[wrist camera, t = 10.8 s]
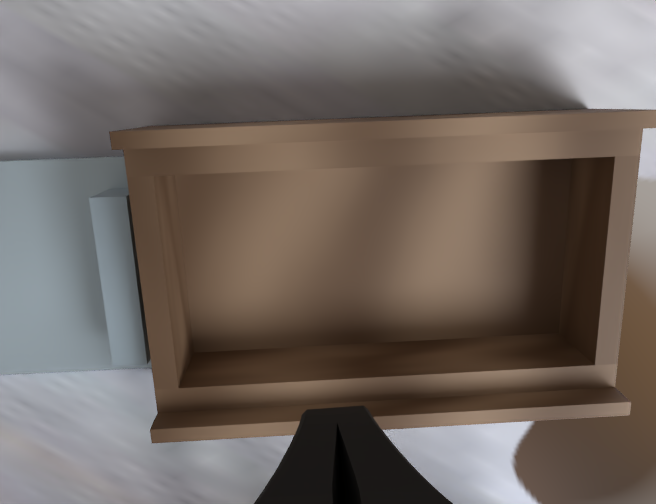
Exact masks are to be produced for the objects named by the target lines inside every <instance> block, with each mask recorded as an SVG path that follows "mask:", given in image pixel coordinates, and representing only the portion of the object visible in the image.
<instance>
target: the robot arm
mask: <svg viewBox="0 0 656 504" xmlns="http://www.w3.org/2000/svg"><path fill="white" fill-rule="evenodd" d="M254 504H453V503H451V502H450V501H449V500H448V499H446V498H445V497H444V496H443V495H442V494H441V493H440V492H438V491H437V490H436V489H435V488H434V487H433V486H432V485H431V484H430V483H429V482H428V481H427V480H426V479H425V478H424V477H423V476H422V475H421V474H420V473H419V472H418V471H417V470H416V469H415V468H414V467H413V466H412V465H411V464H410V463H409V462H408V461H407V460H406V458H405V457H404V456H403V455H402V454H401V453H400V452H399V450H398V449H397V448H396V447H395V446H394V445H393V443H392V442H391V441H390V440H389V438H388V437H387V436H386V435H385V433H384V432H383V431H382V429H381V428H380V427H379V425H378V424H377V422H376V421H375V419H374V418H373V416H372V415H371V413H370V411H369V410H368V409H367V408H366V407H365V406H364V405H363V406H349V407H335V408H321V409H307V410H306V411H305V412H304V413H303V414H302V416H301V420H300V423H299V426H298V428H297V431H296V433H295V435H294V437H293V440H292V442H291V444H290V446H289V448H288V450H287V452H286V453H285V455H284V457H283V459H282V461H281V463H280V465H279V466H278V468H277V470H276V471H275V473H274V475H273V476H272V478H271V479H270V481H269V482H268V484H267V485H266V487H265V489H264V490H263V492H262V493H261V495H260V496H259V497H258V499H257V500H256V502H255V503H254Z"/></svg>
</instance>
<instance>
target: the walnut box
mask: <svg viewBox="0 0 656 504" xmlns="http://www.w3.org/2000/svg"><path fill="white" fill-rule="evenodd" d="M643 128H656V110H634V109H573V110H548V111H522V112H497V113H471V114H445V115H420V116H394V117H369V118H343V119H318V120H292V121H266V122H241V123H215V124H190V125H164V126H147V127H140V128H133V129H126V130H119V131H112V132H109V133H110V140H111V147H112V150H121V149H123V152H124V160H125V167H126V175H127V182H128V190H129V198H130V205H131V213H132V221H133V228H134V236H135V243H136V251H137V259H138V266H139V274H140V282H141V289H142V297H143V304H144V312H145V320H146V327H147V335H148V342H149V350H150V358H151V365H152V373H153V381H154V388H155V396H156V403H157V411H158V414H157V416H156V418H155V420H154V422H153V425H152V427H151V429H150V433H151V441H152V443H164V442H181V441H198V440H215V439H232V438H249V437H266V436H284V435H295V433H296V431H297V428H298V426H299V423H300V420H301V416H302V414H303V413H304V412H305V411H306V410H307V409H321V408H335V407H349V406H363V405H364V406H365V407H366V408H367V409H368V410H369V411H370V413H371V415H372V416H373V418H374V419H375V421H376V422H377V424H378V425H379V427H380V428H381V429H382V430H386V429H403V428H420V427H437V426H454V425H471V424H488V423H505V422H522V421H539V420H556V419H573V418H590V417H607V416H623V415H624V416H625V415H630V408H631V401H629V400H628V399H627V398H626V397H625V396H624V395H623V394H622V393H621V392H620V391H618V390H617V389H616V388H615V381H616V372H617V363H618V354H619V344H620V335H621V326H622V317H623V308H624V299H625V288H626V280H627V271H628V260H629V252H630V243H631V234H632V225H633V215H634V206H635V197H636V187H637V179H638V170H639V160H640V151H641V142H642V133H643Z"/></svg>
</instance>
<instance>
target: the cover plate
mask: <svg viewBox="0 0 656 504" xmlns="http://www.w3.org/2000/svg"><path fill="white" fill-rule="evenodd" d="M136 368H152V365H151V358H150V350H149V342H148V335H147V327H146V320H145V312H144V304H143V297H142V289H141V282H140V274H139V266H138V259H137V251H136V243H135V236H134V228H133V221H132V213H131V205H130V198H129V190H128V182H127V175H126V167H125V160H124V156H120V157H90V158H61V159H31V160H2V161H0V375H11V374H32V373H53V372H74V371H95V370H116V369H136Z"/></svg>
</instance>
